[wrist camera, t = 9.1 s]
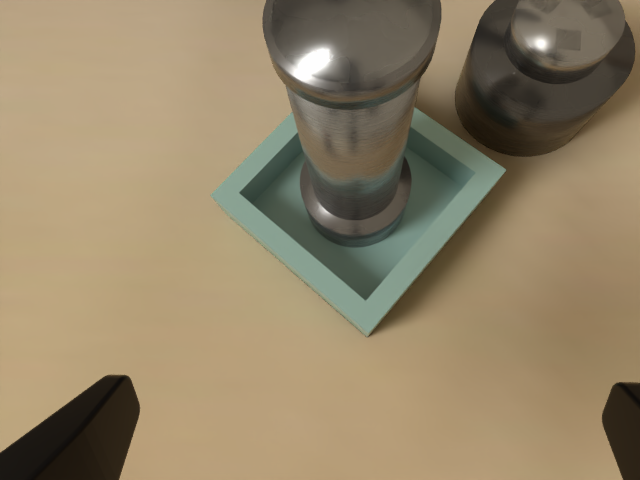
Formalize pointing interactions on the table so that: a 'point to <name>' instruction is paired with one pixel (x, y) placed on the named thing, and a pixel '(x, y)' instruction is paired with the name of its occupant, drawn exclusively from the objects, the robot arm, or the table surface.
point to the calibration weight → (542, 71)
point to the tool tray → (371, 261)
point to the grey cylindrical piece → (353, 104)
